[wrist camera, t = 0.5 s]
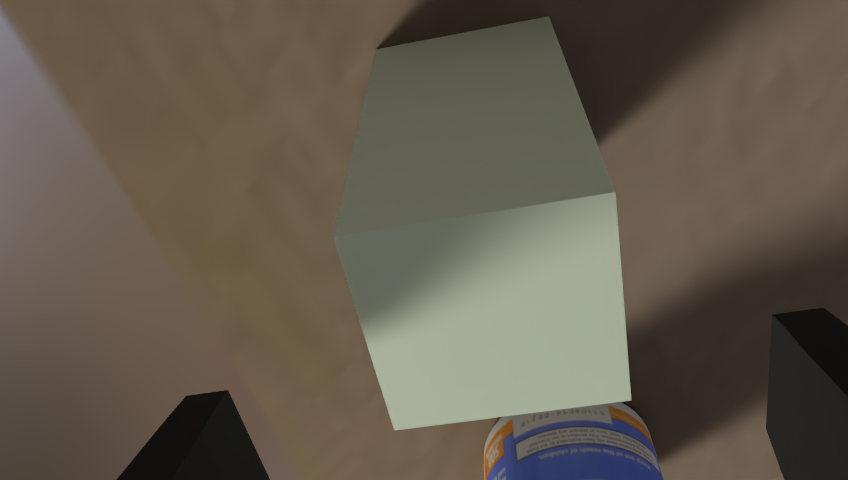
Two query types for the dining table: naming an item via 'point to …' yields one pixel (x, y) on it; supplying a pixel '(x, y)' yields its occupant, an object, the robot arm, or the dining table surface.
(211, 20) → the dining table surface
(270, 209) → the dining table surface
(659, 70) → the dining table surface
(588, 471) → the pill bottle
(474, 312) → the peg
